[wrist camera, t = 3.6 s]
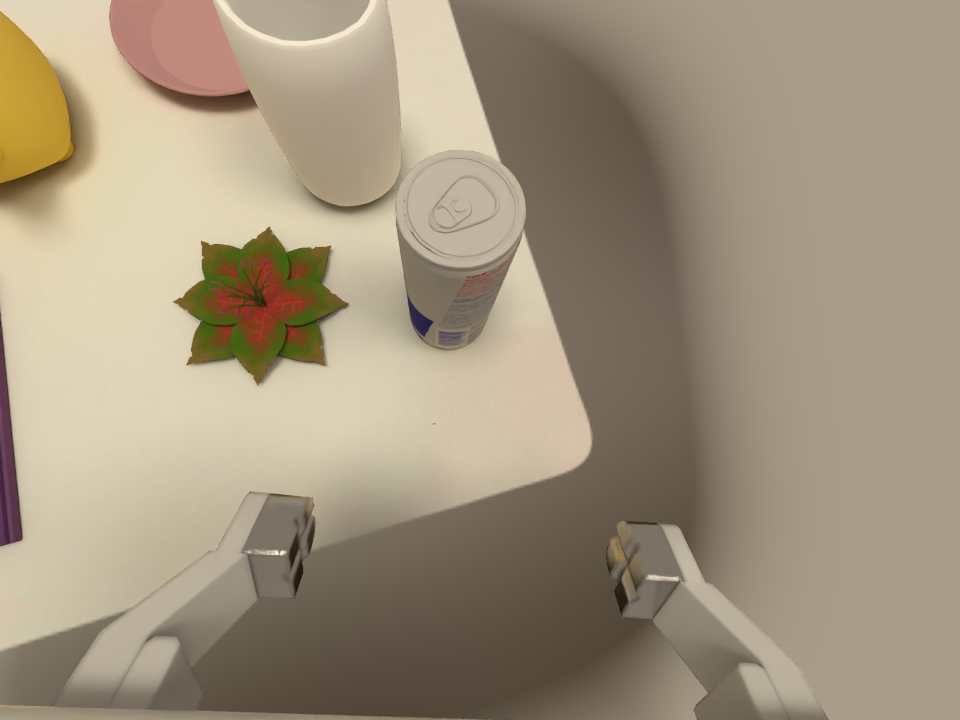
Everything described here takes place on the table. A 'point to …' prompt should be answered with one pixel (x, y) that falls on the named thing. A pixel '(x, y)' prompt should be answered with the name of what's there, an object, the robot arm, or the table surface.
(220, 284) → the lily flower
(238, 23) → the cup
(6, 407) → the purple closed book
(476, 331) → the beverage can
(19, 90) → the teapot
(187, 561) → the table surface
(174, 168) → the table surface
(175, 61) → the plate
